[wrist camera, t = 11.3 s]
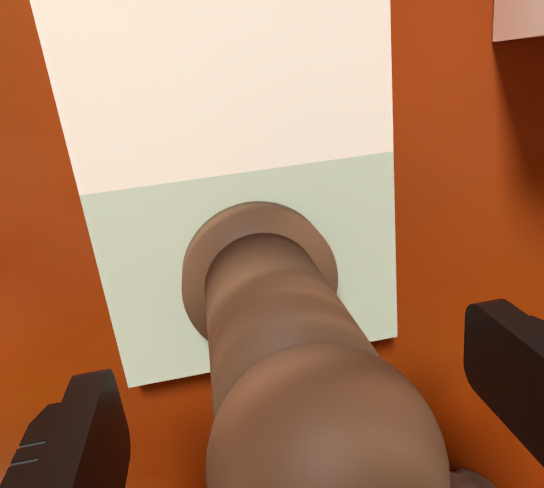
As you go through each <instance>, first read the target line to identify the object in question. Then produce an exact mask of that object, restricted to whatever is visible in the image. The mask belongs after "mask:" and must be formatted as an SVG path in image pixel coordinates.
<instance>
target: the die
mask: <svg viewBox="0 0 544 488" xmlns="http://www.w3.org/2000/svg"><path fill="white" fill-rule="evenodd" d="M540 36H544V0H494V18H493V40H492V42H496V41H505V40H514V39H522V38H531V37H540Z"/></svg>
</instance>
